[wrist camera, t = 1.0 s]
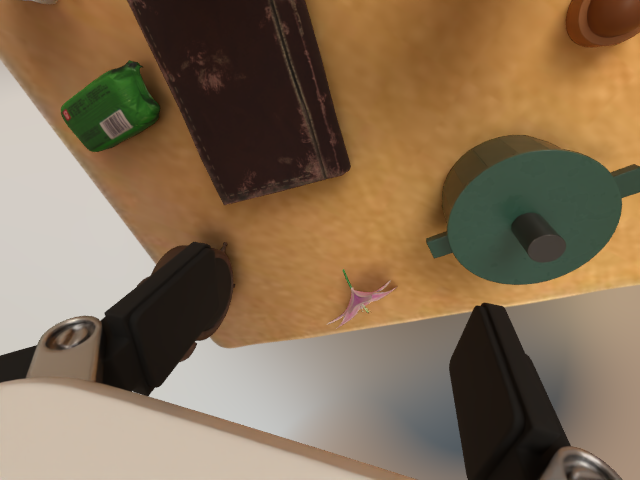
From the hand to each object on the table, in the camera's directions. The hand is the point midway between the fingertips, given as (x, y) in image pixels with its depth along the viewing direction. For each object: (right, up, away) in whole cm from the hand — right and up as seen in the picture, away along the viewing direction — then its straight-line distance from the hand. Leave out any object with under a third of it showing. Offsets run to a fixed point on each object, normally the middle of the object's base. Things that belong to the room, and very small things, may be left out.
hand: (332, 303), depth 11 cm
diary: (-8, +22, +27) cm, 35 cm away
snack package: (-28, +21, +32) cm, 47 cm away
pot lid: (+20, +4, +19) cm, 28 cm away
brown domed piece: (+26, +23, +16) cm, 38 cm away
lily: (+7, -5, +38) cm, 39 cm away
